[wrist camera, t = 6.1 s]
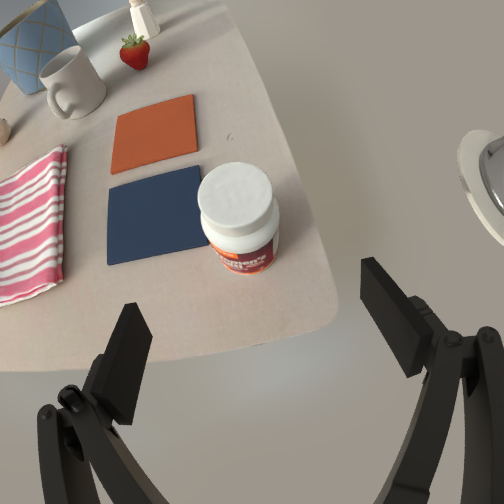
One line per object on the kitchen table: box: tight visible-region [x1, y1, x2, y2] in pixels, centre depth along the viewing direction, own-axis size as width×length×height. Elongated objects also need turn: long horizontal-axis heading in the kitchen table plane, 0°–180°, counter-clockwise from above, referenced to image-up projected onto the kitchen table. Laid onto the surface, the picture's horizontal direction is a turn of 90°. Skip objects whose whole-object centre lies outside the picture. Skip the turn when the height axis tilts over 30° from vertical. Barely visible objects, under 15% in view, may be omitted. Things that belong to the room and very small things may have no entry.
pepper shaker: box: [129, 0, 161, 40], centre depth 41 cm, size 5×5×11 cm
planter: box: [0, 0, 78, 95], centre depth 38 cm, size 19×19×20 cm
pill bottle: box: [198, 162, 280, 275], centre depth 24 cm, size 6×6×11 cm
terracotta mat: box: [111, 94, 198, 175], centre depth 36 cm, size 12×11×1 cm
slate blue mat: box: [107, 165, 209, 265], centre depth 32 cm, size 12×10×1 cm
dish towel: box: [0, 143, 67, 307], centre depth 32 cm, size 17×23×4 cm
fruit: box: [120, 33, 150, 70], centre depth 38 cm, size 5×5×8 cm
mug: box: [39, 45, 107, 120], centre depth 35 cm, size 12×8×11 cm
